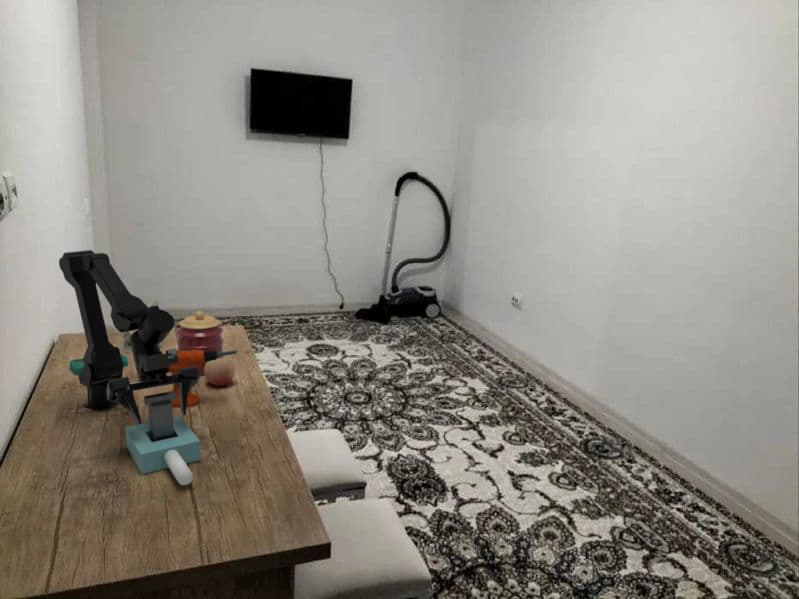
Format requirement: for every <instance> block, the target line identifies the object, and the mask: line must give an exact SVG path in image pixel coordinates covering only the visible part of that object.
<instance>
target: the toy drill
mask: <svg viewBox="0 0 799 599" xmlns="http://www.w3.org/2000/svg"><path fill="white" fill-rule="evenodd" d="M176 352H177V355H178V363H176V364H170V367H171V368H169V373H170V374H171V375H176V374H178V372H179V369H180V368H186V367H192V366H195V367H197V366H200V365H202V364H204V363H205V362H209V361H211V360H216V359H217V358H218V357H219V356H223V357H224V356H229V355H234V354H237V352H238V351H237V349H236V350H235V349H234V350H228V351H223V352H219V353H217V351H201V350H192V351H187V350H185V351H179V350H178V349H176ZM172 389H173V390H172V391H174V393H175V398H176V401H171V402H172V406H173V408H174V407H175V408H176V407H177V408H178V407H179V408H181V406H180V401H179V396H178V389H179V387H178V386H177V383H175V384H173V388H172ZM199 403H200V396H199V395H196V394H194V393H193V392H192V389H191V390H190V391H189V392H188V398H187V407H193V406H196V405H199Z"/></svg>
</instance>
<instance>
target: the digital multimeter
mask: <svg viewBox="0 0 799 599" xmlns="http://www.w3.org/2000/svg"><path fill="white" fill-rule="evenodd" d="M120 355H121V359H122V360H123V363H124V367H123V368H125V367H128V366H129V365H128V364H129V363H128V356H126V355H125V354H123V353H121V352H120ZM83 358H84V357H82V358H76V359H71V360H69V369H70V371H72V373H73V374H74V375H76V376H78V375H79V373H80V372H81V370H82V368H83V367H84V360H83Z"/></svg>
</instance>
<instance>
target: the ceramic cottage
mask: <svg viewBox="0 0 799 599" xmlns="http://www.w3.org/2000/svg"><path fill="white" fill-rule="evenodd" d="M158 302H159V300H158V299H155V300H153V302H152V304H151V306H158V307H159V304H158ZM144 303H145V304H146V306H147V307H148V308H149V307H151V306H150V305H148V304H147V302H144ZM159 309H160V307H159ZM160 310H161V309H160ZM135 331H137V330H134V331H129V332H124V334H123V335H122V337H123V339H122V342H121V346H120V348H119V350H120V352H123V353H129V354H132V353H133V352H132V348H131V346H128V342H129V340H130V337H131V335H132V334H133V333H134V332H135ZM166 343H168V342H167V337H166V338H165V339H164V340H163V341H162V342H161V343H159V347H160V348H162V347H161V346H163V345H165V346H166V345H167V344H166ZM163 347H164V346H163Z"/></svg>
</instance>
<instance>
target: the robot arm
mask: <svg viewBox="0 0 799 599" xmlns="http://www.w3.org/2000/svg"><path fill="white" fill-rule="evenodd" d="M58 265H59V268H60V271H61V272H62V274H63V278H64V280H65V281H66V282H67V283H68V284H69V285H70V286H71V287H72V288H74V292H75V296H76V300H77V304H78V308H79V313H80V317H81V322H82V327H83V330H84V334H85V339H86V344H87V347H86V350H85V353H84V355H83V357H82V358H83V360H84V367H83V368H82V370H81V372H80V373H79V375H77V376H78V380H79V384H80V385H82V386H84V387H85V388H86V391H87V392H86V393H87V402H85V403H83V404H82V406H83V407H85V408H89V409H92V410H98V411H106V410H108V409H110V408H112V407H114V406H116V405H118V404H120V405H121V406H122V407H123V408H124V409H125V410H127V412H128V413H129V414H130V415H131V416H132V418H133V419H134V420H135V422H136V423H137V425H139V424H142V420H141V419H142V418H141V414H140V411H139V409H138V406H137V403H136V399H135V396H134V395H135V394H134V391H140V390H145V389H151V388H157V387H163V386H169V385H174V384H175V383H177V386H178V387H179V389H178V396H179V401H180V406H181V407H180V410H181V413H182V415H183V416H186V414H187V408H188V406H187V398H188V392H189V391H190V390H191V391H192V389H193V388H194V387H196V386H197V384H198V382H199V380H200V378H201V376H202V375H200V372H199V369H198V368H197V367H195V366H192V367H186V368H180V369H179V372H178V374H176V375H172V374H171V375H167V374H169V373H170V372H169V368H171V367H170V364H176V363H178V355H177V352H176V350H177V349H176V348H170V349H166V350H165V353H163V352H162V350H161V347H159V343H161V342H162V341H163V340H164V339H165V338H166V339H167V336H168V335H169V333H171V331H172V329H173V328H174V327H175V319H174V316H173V315H171V314H170V313H169V312H168V311H166V310H163V309H159V308H160V307H158V306H159V305H158V306H152V305H151V307H149V308H148V305H147V306H146V304H147V303H146V302H144V301H143V300H142V299H141V298H140V297H138V296H135V295H133V294H131V293H130V292H131V291H129V289H128V288H127V286H126V285H125V283H124V282H123V280H122V279H121V278H120V276H119V274H118V273H117V271H116V270H115V268H114V267H113V265H112V264H111V262H110V257H109V255H108V254H107V253H104V252H98V253H97V252H96V253H95V252H94V251H93V250H92V249H86V250H78V251H70V252H69V251H67V252H63V254H62V257H60V258H59V260H58ZM97 286H98V288H99V289H100V291H101V292H102V295H103V296H104V298H105V299H106V301H107V302H108V303H109V306H110V308H111V310H110V318H111V321H112V323H113V326H114V328H115V329H116V330H117V331H118V332H120V333H125V332H129V331H134V330H137V331H135V332H134V333H133V334H132V335H131V337H130V340H129V342H128V346H131V348H132V352H133V354H132V356H133V359H134V364H135V369H136V373H137V378H138V380H135V381H130V379H129V377H128V376H125V377H123V372H124V368H125V367H124V363H123V360H122V359H121V355H120V353H121V350H120V348H119V347H118V346H114V345H113V344H112V342H110V340H109V339H110V338H109V335H108V332H107V327H106V323H105V318H104V314H103V309H102V305H101V301H100V296H99V292H98V288H97ZM145 303H146V304H145Z"/></svg>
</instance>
